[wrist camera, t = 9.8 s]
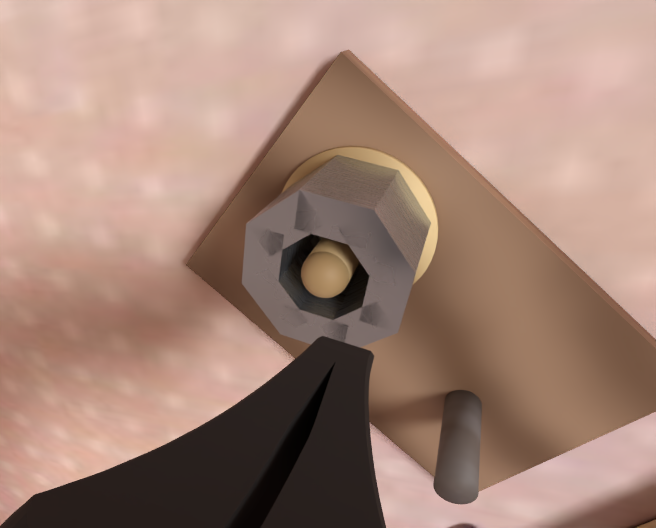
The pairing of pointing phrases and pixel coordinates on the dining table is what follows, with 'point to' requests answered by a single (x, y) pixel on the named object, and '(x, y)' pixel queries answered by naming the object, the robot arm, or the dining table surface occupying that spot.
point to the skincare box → (648, 525)
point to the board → (453, 301)
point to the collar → (346, 227)
